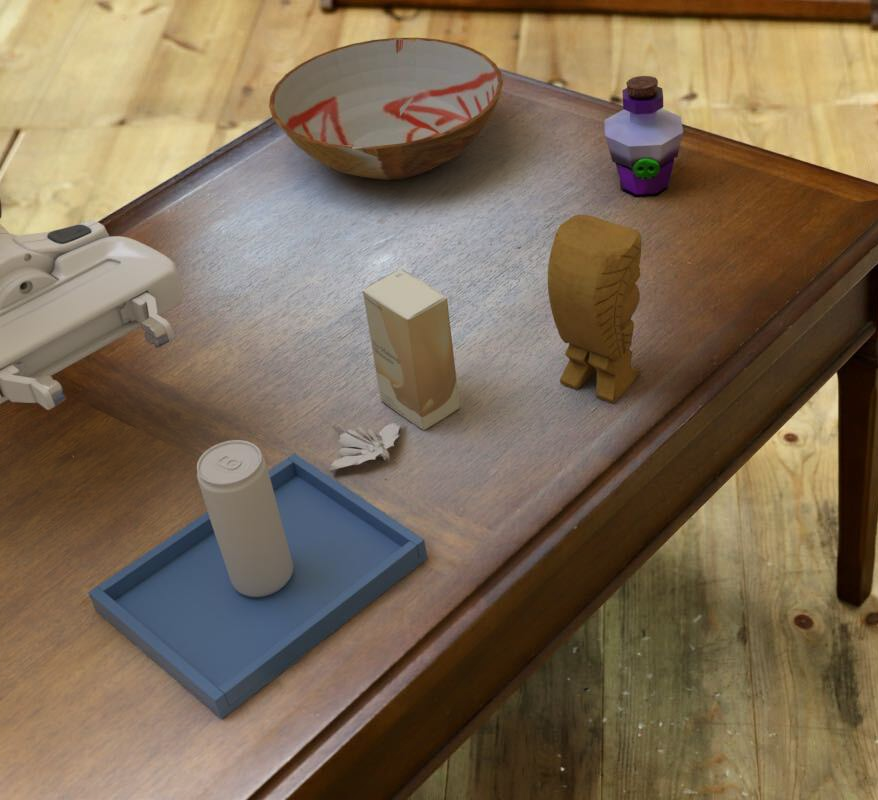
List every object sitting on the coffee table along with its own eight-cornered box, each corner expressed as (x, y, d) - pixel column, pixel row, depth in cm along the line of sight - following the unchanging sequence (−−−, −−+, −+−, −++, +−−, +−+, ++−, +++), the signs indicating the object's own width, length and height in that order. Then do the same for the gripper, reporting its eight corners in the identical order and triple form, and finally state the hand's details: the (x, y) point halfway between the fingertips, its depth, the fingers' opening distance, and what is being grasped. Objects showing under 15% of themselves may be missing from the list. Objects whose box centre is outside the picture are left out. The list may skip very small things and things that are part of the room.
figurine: (651, 373, 122) (647, 231, 113) (612, 415, 118) (605, 272, 108) (584, 349, 125) (576, 209, 116) (544, 390, 121) (531, 248, 111)
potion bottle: (624, 213, 142) (621, 109, 135) (591, 174, 148) (586, 72, 141) (699, 192, 145) (700, 89, 137) (663, 155, 151) (662, 54, 143)
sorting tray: (221, 719, 95) (215, 700, 94) (95, 610, 103) (87, 592, 102) (428, 558, 106) (424, 539, 105) (299, 471, 114) (294, 452, 113)
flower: (299, 463, 117) (290, 437, 115) (370, 414, 121) (362, 389, 120) (354, 491, 112) (345, 464, 110) (426, 440, 116) (419, 413, 115)
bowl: (267, 221, 144) (251, 154, 139) (299, 105, 163) (286, 42, 158) (507, 208, 144) (500, 141, 139) (511, 94, 163) (505, 30, 158)
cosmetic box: (378, 401, 121) (357, 287, 113) (417, 377, 123) (398, 264, 115) (425, 433, 117) (406, 319, 109) (464, 409, 120) (448, 294, 112)
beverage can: (265, 610, 102) (230, 494, 94) (217, 586, 104) (179, 470, 96) (308, 568, 105) (278, 452, 97) (260, 545, 107) (227, 430, 99)
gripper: (-127, 327, 101) (-31, 403, 94) (111, 211, 113) (213, 270, 106) (-97, 393, 105) (-2, 471, 98) (131, 274, 117) (230, 336, 110)
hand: (111, 366), depth 102 cm, fingers open, 8 cm apart
